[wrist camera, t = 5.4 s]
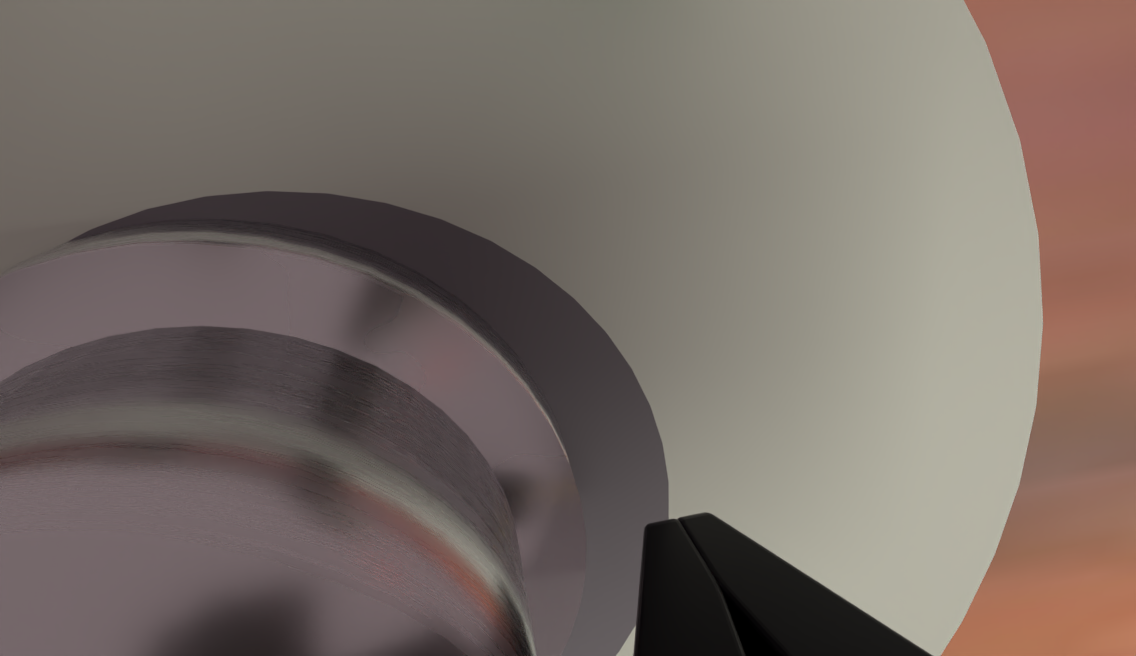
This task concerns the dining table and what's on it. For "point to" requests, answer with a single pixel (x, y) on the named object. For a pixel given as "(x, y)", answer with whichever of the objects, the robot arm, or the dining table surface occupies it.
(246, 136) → the turntable
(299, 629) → the cover cap
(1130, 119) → the dining table surface
